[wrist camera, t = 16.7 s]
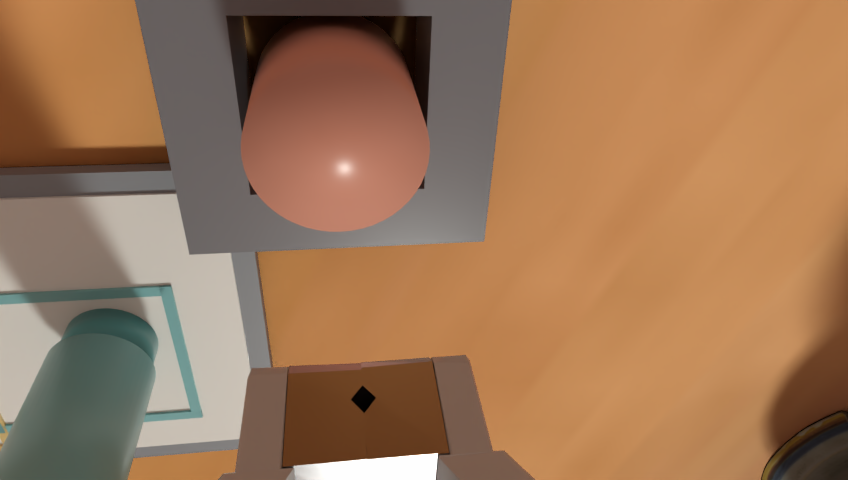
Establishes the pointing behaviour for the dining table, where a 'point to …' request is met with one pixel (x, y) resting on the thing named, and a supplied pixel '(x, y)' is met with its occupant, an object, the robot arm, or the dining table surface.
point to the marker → (85, 402)
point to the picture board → (128, 295)
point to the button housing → (230, 93)
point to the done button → (334, 125)
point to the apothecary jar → (814, 453)
